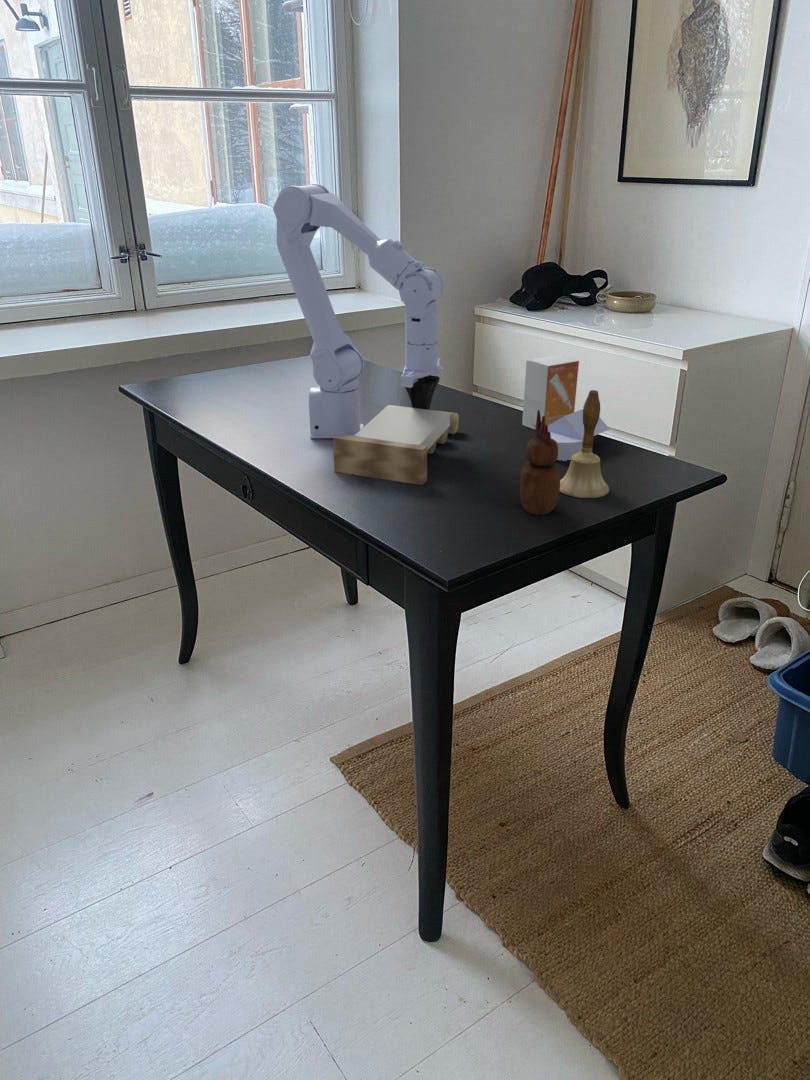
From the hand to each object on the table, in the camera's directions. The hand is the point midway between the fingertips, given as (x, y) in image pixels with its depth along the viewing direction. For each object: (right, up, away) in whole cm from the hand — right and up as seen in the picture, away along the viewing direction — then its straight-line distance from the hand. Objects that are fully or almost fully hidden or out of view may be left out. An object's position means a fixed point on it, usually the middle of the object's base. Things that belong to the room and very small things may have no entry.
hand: (421, 416), depth 149 cm
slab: (-3, -4, -6) cm, 8 cm away
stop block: (-7, -12, -13) cm, 19 cm away
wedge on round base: (+26, -6, -1) cm, 27 cm away
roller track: (-1, -6, 0) cm, 6 cm away
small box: (+25, 0, +12) cm, 28 cm away
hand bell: (+25, -14, -18) cm, 35 cm away
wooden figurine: (+17, -18, -26) cm, 36 cm away
